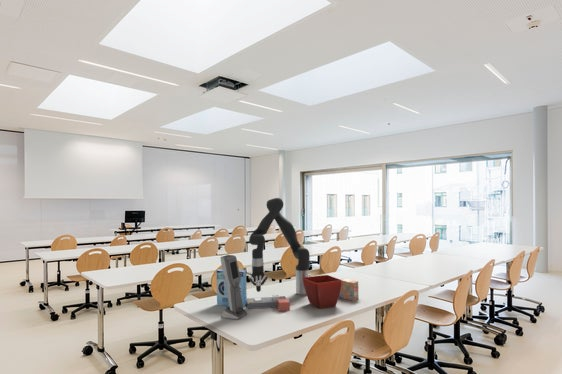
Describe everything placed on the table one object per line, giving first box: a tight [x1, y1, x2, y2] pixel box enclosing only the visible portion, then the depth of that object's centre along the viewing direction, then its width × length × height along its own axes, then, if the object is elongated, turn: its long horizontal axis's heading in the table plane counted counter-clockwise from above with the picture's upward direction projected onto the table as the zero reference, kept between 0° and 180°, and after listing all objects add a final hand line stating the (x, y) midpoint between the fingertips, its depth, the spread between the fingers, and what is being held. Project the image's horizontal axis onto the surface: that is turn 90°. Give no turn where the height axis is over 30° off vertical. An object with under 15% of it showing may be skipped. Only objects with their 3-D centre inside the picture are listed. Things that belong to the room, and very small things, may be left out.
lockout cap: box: [277, 297, 291, 312], centre depth 214 cm, size 7×8×5 cm
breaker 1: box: [253, 297, 262, 302], centre depth 222 cm, size 4×5×2 cm
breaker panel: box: [246, 295, 287, 309], centre depth 223 cm, size 26×12×4 cm, turn 100°
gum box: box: [216, 268, 248, 308], centre depth 223 cm, size 20×5×23 cm, turn 72°
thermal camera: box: [220, 254, 248, 321], centre depth 203 cm, size 12×13×35 cm
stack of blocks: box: [338, 278, 360, 301], centre depth 238 cm, size 21×6×12 cm, turn 47°
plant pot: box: [303, 274, 342, 309], centre depth 221 cm, size 19×19×17 cm
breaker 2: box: [271, 294, 280, 301], centre depth 225 cm, size 4×5×2 cm
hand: (258, 291), depth 222 cm, fingers closed
